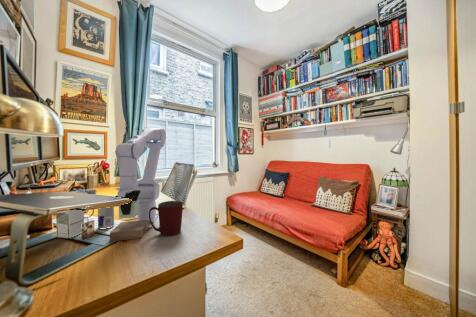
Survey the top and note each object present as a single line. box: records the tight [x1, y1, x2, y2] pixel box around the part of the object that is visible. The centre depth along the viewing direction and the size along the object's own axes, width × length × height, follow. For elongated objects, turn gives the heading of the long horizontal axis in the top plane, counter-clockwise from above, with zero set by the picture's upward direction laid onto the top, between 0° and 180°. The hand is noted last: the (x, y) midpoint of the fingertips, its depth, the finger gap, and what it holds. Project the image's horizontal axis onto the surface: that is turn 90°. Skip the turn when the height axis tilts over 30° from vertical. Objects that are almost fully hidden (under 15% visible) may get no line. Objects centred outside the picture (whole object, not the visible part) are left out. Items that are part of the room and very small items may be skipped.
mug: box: [149, 200, 184, 237], centre depth 71 cm, size 12×9×11 cm
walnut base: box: [109, 220, 150, 242], centre depth 71 cm, size 10×10×3 cm
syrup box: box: [55, 210, 85, 240], centre depth 69 cm, size 6×6×14 cm
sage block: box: [118, 201, 139, 219], centre depth 70 cm, size 5×5×5 cm
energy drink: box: [97, 206, 115, 229], centre depth 77 cm, size 5×5×12 cm
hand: (129, 212), depth 70 cm, fingers closed on sage block, 5 cm apart
